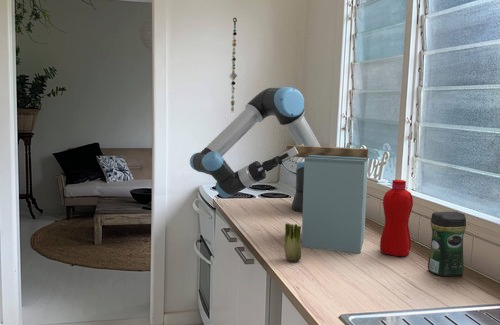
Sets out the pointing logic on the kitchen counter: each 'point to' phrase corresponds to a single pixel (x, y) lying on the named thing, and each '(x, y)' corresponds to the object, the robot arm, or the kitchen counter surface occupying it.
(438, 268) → the coffee jar
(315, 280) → the kitchen counter surface
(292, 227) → the fennel bulb
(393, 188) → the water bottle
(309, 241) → the grey-blue storage bin
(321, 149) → the walnut slat
